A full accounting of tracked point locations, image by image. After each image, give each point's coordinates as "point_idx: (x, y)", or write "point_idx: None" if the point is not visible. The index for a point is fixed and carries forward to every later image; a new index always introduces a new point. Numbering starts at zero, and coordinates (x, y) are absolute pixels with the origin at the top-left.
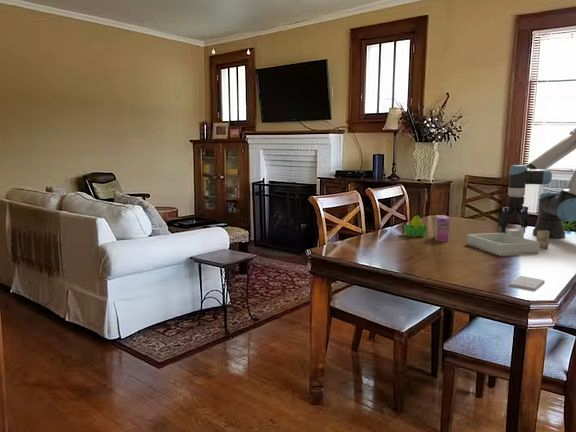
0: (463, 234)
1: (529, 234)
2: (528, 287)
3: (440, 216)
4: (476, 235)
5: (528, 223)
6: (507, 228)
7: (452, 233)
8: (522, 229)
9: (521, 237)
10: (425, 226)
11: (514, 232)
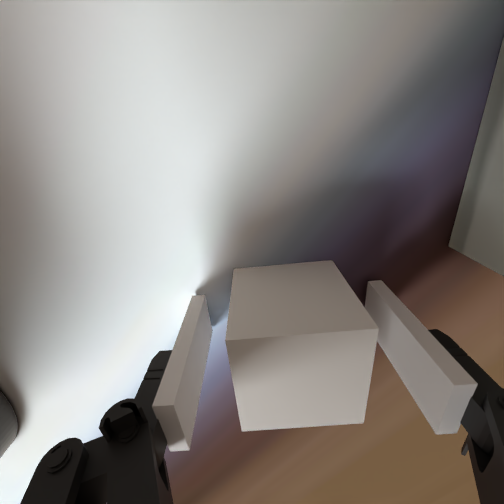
0: (448, 466)
1: (40, 435)
2: None
3: None
4: None
5: (41, 484)
6: (453, 381)
7: None
8: (183, 382)
9: (203, 315)
10: None
11: (339, 318)
